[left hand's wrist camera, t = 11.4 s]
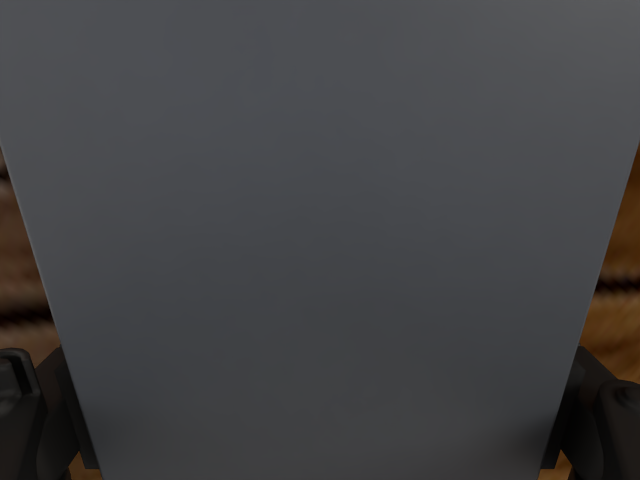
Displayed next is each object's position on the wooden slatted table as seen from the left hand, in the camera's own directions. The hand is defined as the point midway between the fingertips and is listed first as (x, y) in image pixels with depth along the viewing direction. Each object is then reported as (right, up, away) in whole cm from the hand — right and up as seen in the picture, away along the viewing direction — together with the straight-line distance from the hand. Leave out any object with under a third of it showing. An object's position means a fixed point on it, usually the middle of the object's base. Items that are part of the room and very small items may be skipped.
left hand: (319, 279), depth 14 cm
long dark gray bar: (0, +28, -10) cm, 30 cm away
